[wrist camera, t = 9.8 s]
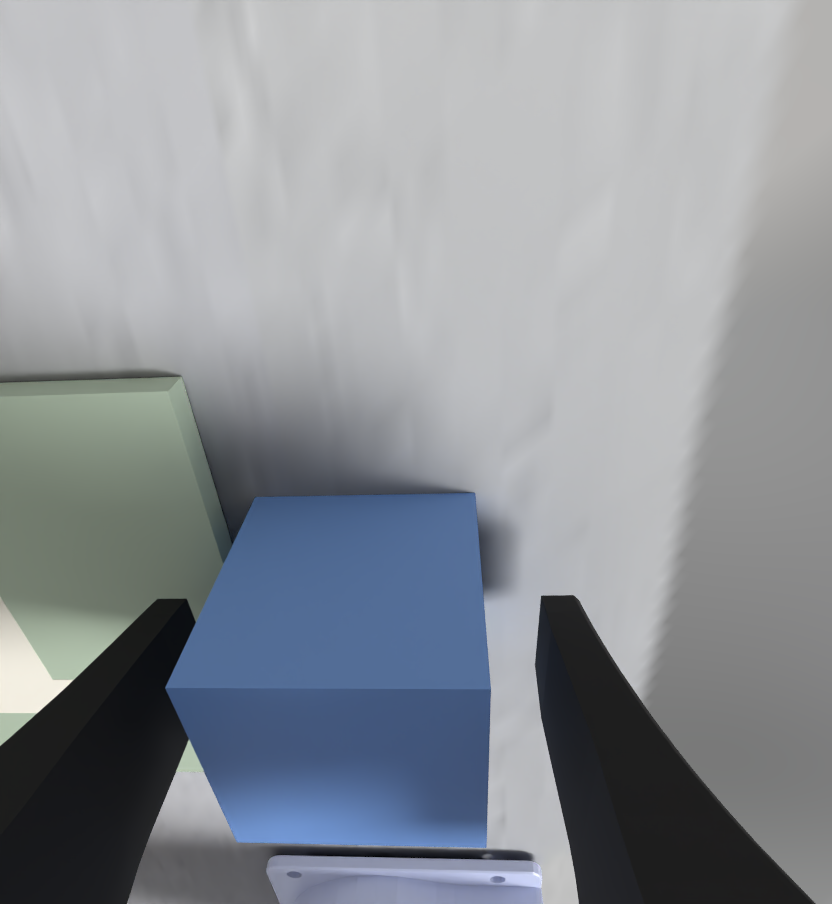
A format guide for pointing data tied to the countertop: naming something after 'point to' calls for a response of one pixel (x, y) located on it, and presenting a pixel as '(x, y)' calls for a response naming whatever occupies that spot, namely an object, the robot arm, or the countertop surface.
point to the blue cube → (345, 674)
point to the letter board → (96, 526)
